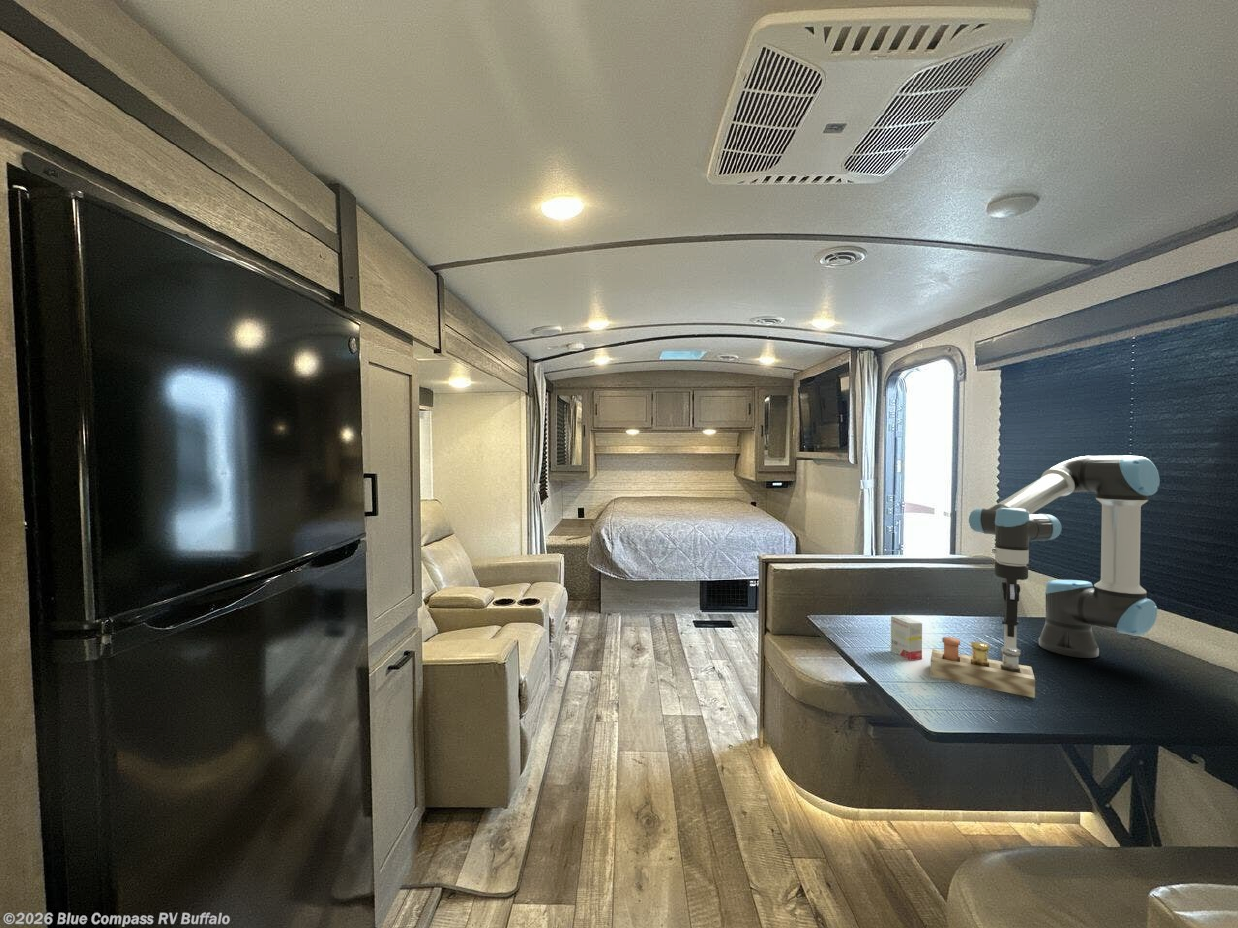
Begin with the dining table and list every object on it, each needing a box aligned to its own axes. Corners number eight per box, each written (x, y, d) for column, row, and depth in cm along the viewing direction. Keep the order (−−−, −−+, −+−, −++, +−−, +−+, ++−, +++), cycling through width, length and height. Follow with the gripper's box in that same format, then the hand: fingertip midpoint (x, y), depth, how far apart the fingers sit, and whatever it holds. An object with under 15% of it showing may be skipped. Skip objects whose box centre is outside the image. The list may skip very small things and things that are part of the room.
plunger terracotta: (960, 660, 154) (960, 638, 153) (959, 665, 150) (960, 643, 150) (942, 657, 156) (942, 635, 156) (942, 662, 152) (942, 640, 152)
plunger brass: (989, 665, 150) (989, 643, 150) (989, 670, 146) (989, 648, 146) (970, 662, 152) (970, 640, 152) (970, 667, 148) (970, 645, 148)
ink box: (923, 659, 165) (923, 622, 165) (910, 660, 164) (910, 623, 163) (902, 649, 173) (902, 614, 173) (890, 650, 172) (890, 615, 172)
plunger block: (1031, 684, 147) (1031, 666, 146) (1034, 697, 138) (1035, 679, 138) (932, 665, 160) (932, 649, 160) (930, 676, 152) (930, 659, 152)
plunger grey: (1019, 671, 146) (1019, 648, 146) (1020, 676, 142) (1021, 653, 142) (1000, 667, 148) (1000, 645, 148) (1001, 673, 145) (1001, 650, 144)
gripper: (993, 558, 152) (992, 637, 152) (995, 565, 141) (994, 651, 142) (1026, 561, 148) (1025, 642, 148) (1030, 569, 137) (1029, 657, 137)
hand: (1010, 646), depth 145 cm, fingers closed
